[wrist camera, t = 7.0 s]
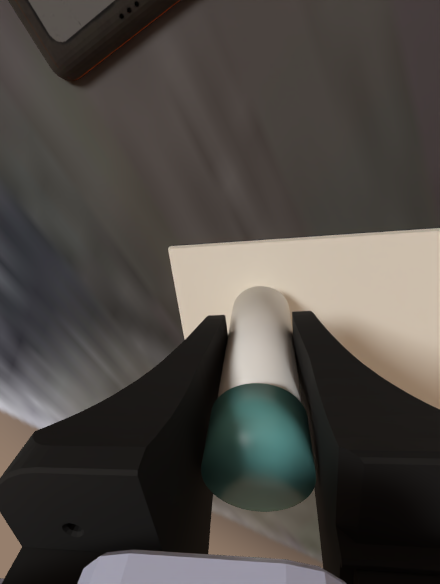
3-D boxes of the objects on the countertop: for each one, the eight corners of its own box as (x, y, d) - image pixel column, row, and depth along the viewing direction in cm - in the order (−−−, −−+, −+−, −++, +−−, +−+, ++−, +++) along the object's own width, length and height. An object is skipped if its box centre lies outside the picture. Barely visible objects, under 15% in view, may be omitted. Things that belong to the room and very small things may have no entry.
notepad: (568, 219, 12) (576, 222, 11) (497, 431, 16) (501, 437, 16) (170, 246, 14) (168, 249, 14) (202, 426, 18) (201, 432, 18)
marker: (290, 281, 13) (314, 434, 7) (293, 335, 14) (317, 512, 8) (226, 286, 13) (192, 435, 7) (234, 338, 14) (210, 510, 8)
